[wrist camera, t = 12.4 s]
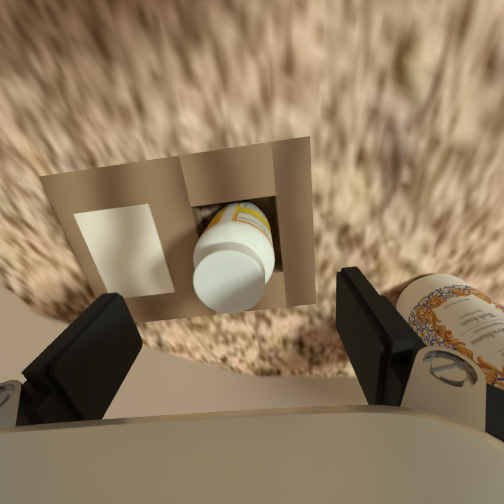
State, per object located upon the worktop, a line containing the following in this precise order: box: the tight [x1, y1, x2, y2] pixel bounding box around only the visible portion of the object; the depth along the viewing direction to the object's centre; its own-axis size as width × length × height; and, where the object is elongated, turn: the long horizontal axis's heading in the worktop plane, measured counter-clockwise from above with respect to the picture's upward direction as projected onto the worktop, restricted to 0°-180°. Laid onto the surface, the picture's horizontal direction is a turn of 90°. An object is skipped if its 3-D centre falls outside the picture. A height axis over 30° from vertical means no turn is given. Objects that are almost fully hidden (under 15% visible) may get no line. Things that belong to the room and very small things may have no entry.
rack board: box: [39, 136, 316, 323], centre depth 21 cm, size 20×14×3 cm
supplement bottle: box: [193, 202, 275, 314], centre depth 17 cm, size 5×5×10 cm
